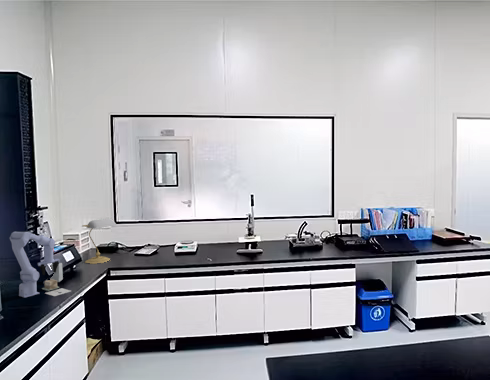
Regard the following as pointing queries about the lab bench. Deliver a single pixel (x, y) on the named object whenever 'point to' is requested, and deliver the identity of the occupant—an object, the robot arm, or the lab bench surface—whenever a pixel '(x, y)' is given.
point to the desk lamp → (92, 224)
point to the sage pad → (49, 289)
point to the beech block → (51, 284)
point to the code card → (58, 292)
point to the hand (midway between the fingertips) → (49, 273)
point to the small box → (57, 273)
